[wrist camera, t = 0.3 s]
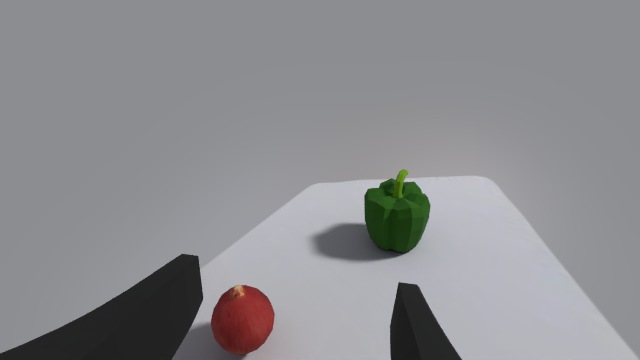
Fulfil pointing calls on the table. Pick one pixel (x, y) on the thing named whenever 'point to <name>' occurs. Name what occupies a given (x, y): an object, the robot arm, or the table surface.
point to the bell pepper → (396, 214)
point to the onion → (242, 319)
